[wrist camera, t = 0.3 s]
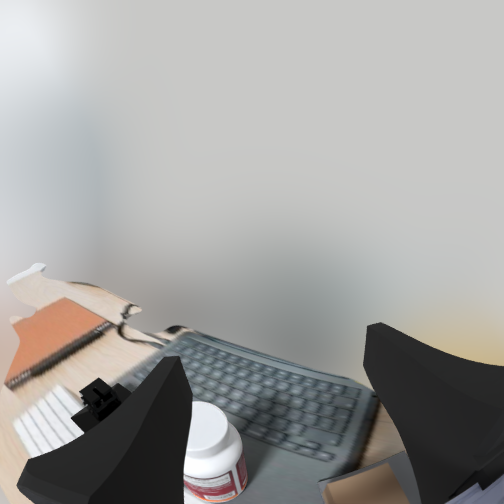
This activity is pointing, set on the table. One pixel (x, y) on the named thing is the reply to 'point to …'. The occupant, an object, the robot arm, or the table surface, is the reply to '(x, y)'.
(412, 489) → the mat
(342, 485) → the walnut slab
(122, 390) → the black bracket
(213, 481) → the pill bottle
